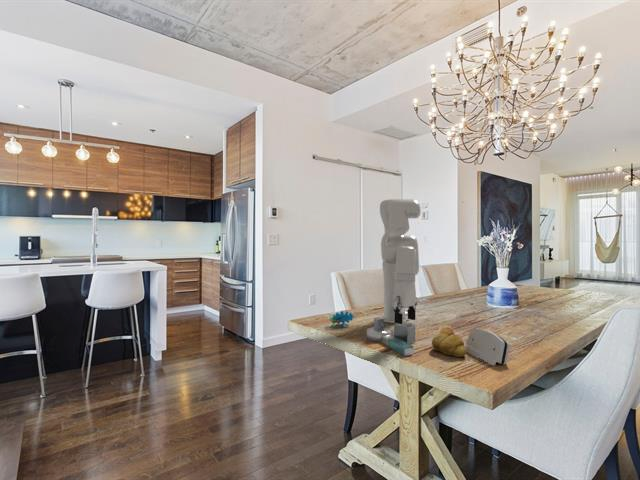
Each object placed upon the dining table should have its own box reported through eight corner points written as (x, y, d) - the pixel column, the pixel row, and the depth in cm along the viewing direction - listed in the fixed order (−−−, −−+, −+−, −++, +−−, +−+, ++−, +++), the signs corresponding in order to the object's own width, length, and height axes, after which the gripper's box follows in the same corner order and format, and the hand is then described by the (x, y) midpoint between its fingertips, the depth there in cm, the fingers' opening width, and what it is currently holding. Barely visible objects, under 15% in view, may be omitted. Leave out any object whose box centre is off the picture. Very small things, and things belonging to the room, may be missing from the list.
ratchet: (383, 333, 144) (383, 314, 144) (420, 353, 120) (421, 331, 120) (362, 335, 141) (362, 316, 141) (396, 356, 117) (397, 334, 116)
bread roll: (473, 357, 117) (473, 335, 116) (449, 361, 114) (450, 337, 113) (448, 345, 129) (448, 325, 129) (426, 348, 126) (427, 327, 126)
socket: (401, 338, 137) (402, 321, 137) (415, 342, 133) (415, 324, 133) (393, 341, 133) (394, 324, 133) (407, 345, 129) (407, 327, 129)
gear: (353, 320, 160) (352, 308, 153) (355, 331, 156) (354, 320, 149) (330, 322, 161) (328, 311, 153) (331, 333, 156) (329, 323, 149)
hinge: (460, 349, 125) (468, 323, 126) (470, 352, 126) (478, 327, 127) (494, 366, 109) (503, 336, 110) (505, 370, 110) (514, 340, 111)
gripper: (408, 275, 141) (408, 316, 141) (384, 278, 129) (384, 323, 129) (424, 277, 136) (424, 319, 135) (402, 280, 123) (401, 326, 123)
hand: (405, 321), depth 132 cm, fingers open, 9 cm apart
